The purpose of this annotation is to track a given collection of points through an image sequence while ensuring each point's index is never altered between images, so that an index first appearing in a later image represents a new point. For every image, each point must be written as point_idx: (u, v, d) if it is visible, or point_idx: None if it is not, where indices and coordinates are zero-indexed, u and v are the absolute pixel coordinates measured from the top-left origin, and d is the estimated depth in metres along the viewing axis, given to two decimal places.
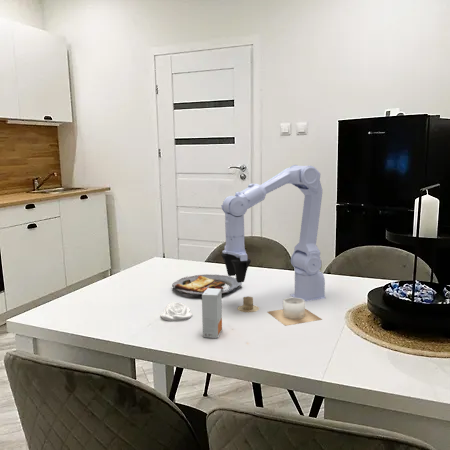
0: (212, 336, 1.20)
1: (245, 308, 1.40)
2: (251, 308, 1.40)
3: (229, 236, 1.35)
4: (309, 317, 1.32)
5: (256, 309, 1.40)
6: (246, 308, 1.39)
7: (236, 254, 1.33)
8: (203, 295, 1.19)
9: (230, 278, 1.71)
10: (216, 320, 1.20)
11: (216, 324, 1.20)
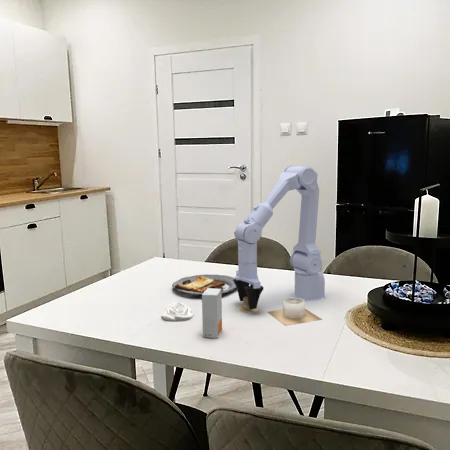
0: (212, 336, 1.20)
1: (245, 308, 1.40)
2: None
3: (242, 263, 1.36)
4: (309, 317, 1.32)
5: (256, 309, 1.40)
6: (246, 308, 1.39)
7: (249, 281, 1.34)
8: (203, 295, 1.19)
9: (230, 278, 1.71)
10: (216, 320, 1.20)
11: (216, 324, 1.20)
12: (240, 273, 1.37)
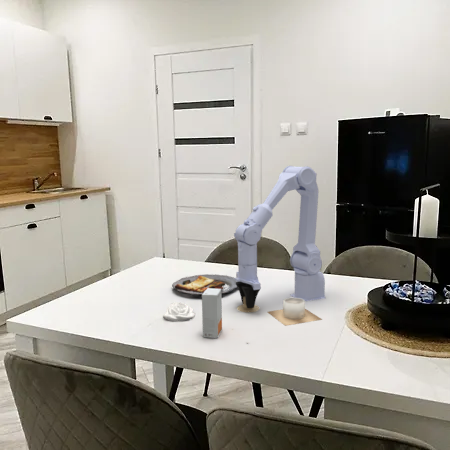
0: (212, 336, 1.20)
1: (245, 307, 1.40)
2: None
3: (242, 264, 1.36)
4: (309, 317, 1.32)
5: (256, 308, 1.40)
6: (246, 307, 1.39)
7: (249, 283, 1.34)
8: (203, 295, 1.19)
9: (230, 278, 1.71)
10: (216, 320, 1.20)
11: (216, 324, 1.20)
12: (240, 274, 1.37)
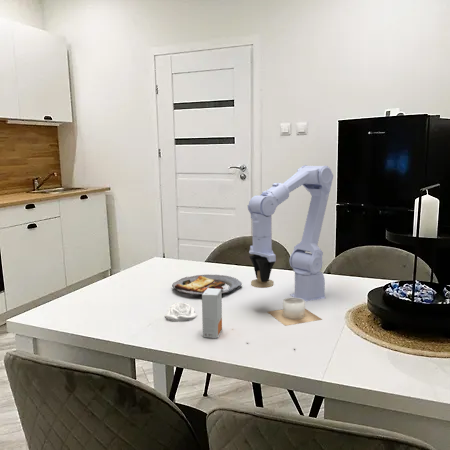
0: (212, 336, 1.20)
1: (259, 281, 1.36)
2: None
3: (256, 236, 1.33)
4: (309, 317, 1.32)
5: (270, 282, 1.36)
6: (260, 281, 1.36)
7: (264, 255, 1.31)
8: (203, 295, 1.19)
9: (230, 278, 1.71)
10: (216, 320, 1.20)
11: (216, 324, 1.20)
12: (254, 247, 1.34)
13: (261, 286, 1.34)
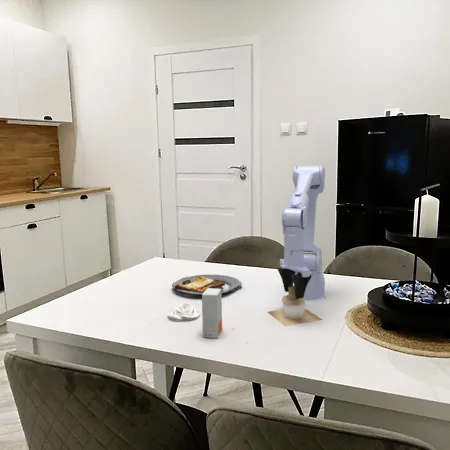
0: (212, 336, 1.20)
1: (290, 298, 1.32)
2: None
3: (289, 250, 1.28)
4: (309, 317, 1.32)
5: (302, 299, 1.32)
6: (291, 298, 1.32)
7: (297, 269, 1.27)
8: (203, 295, 1.19)
9: (230, 278, 1.71)
10: (216, 320, 1.20)
11: (216, 324, 1.20)
12: (287, 261, 1.30)
13: (293, 303, 1.30)
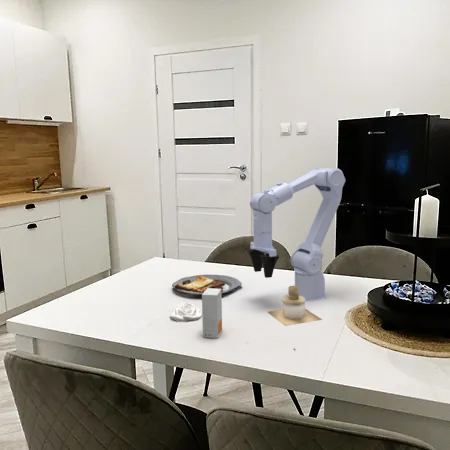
0: (212, 336, 1.20)
1: (290, 298, 1.32)
2: (297, 298, 1.32)
3: (258, 232, 1.38)
4: (309, 317, 1.32)
5: (302, 299, 1.32)
6: (291, 298, 1.32)
7: (265, 250, 1.36)
8: (203, 295, 1.19)
9: (230, 278, 1.71)
10: (216, 320, 1.20)
11: (216, 324, 1.20)
12: (255, 242, 1.40)
13: (293, 303, 1.30)
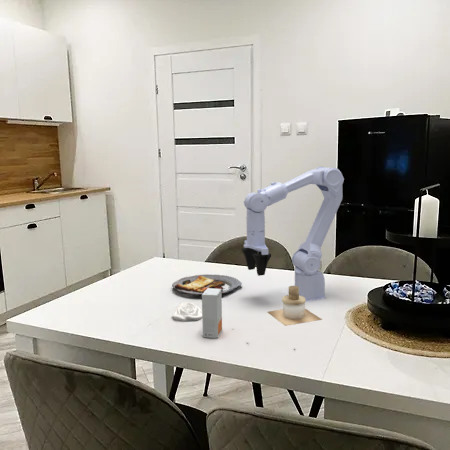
0: (212, 336, 1.20)
1: (291, 298, 1.32)
2: (297, 298, 1.32)
3: (250, 231, 1.41)
4: (309, 317, 1.32)
5: (302, 299, 1.32)
6: (292, 298, 1.32)
7: (257, 248, 1.39)
8: (203, 295, 1.19)
9: (230, 278, 1.71)
10: (216, 320, 1.20)
11: (216, 324, 1.20)
12: (248, 241, 1.42)
13: (293, 303, 1.30)
